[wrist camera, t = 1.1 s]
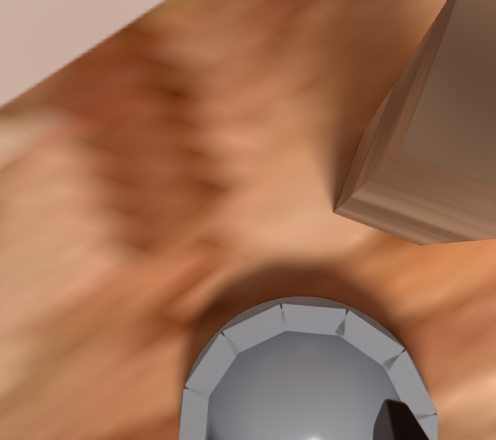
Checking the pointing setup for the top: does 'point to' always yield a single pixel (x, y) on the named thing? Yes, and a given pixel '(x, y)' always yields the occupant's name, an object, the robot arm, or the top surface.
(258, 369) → the gray bowl
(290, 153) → the top surface
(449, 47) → the walnut block
